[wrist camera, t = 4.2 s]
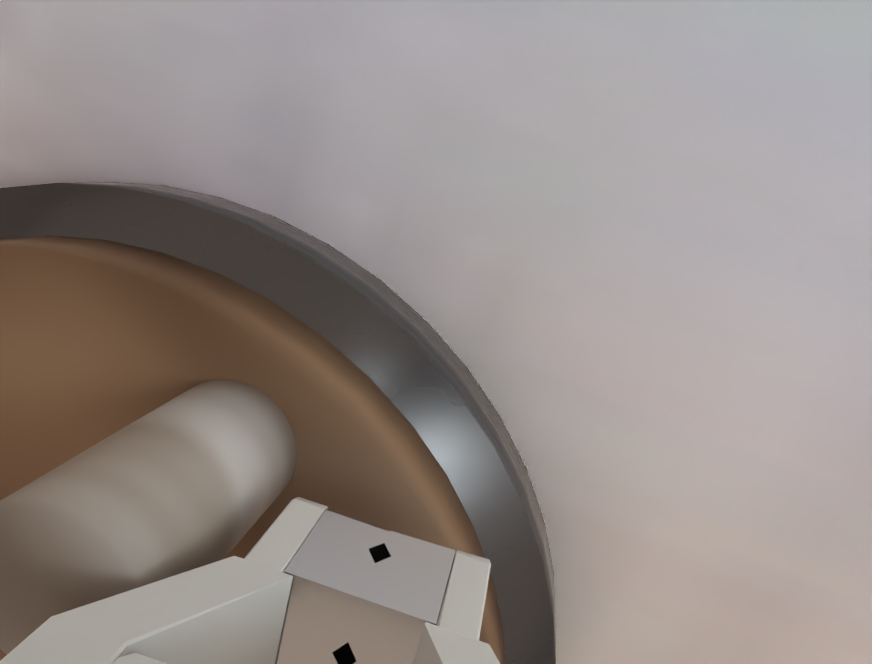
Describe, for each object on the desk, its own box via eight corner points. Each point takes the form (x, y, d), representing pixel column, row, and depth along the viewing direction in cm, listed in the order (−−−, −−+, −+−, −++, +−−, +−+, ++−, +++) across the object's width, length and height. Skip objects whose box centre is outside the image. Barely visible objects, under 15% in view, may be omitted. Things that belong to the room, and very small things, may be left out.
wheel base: (4, -15, 13) (-190, -81, 9) (804, 611, 13) (890, 764, 10) (-232, 578, 19) (-399, 664, 16) (309, 997, 19) (257, 1170, 16)
